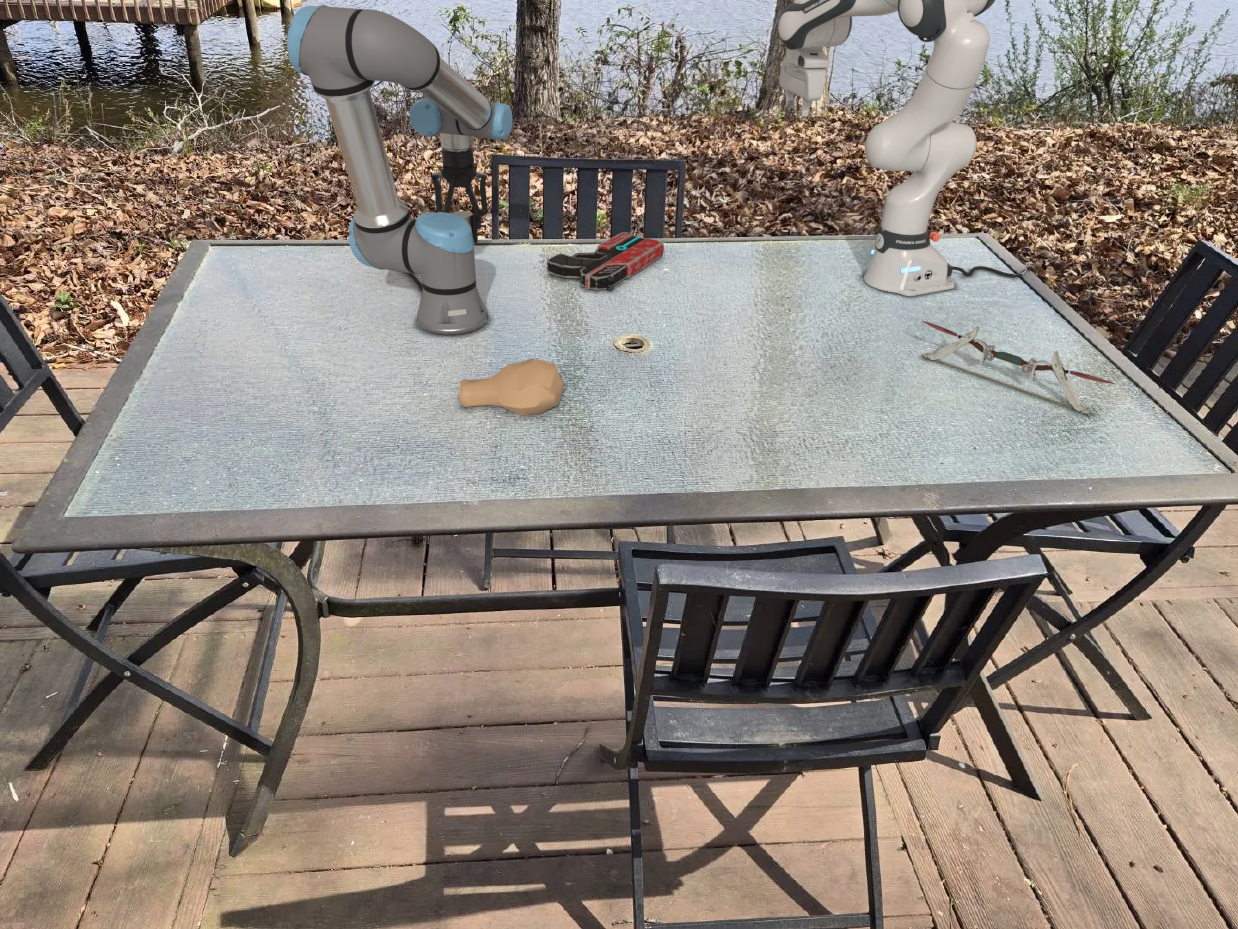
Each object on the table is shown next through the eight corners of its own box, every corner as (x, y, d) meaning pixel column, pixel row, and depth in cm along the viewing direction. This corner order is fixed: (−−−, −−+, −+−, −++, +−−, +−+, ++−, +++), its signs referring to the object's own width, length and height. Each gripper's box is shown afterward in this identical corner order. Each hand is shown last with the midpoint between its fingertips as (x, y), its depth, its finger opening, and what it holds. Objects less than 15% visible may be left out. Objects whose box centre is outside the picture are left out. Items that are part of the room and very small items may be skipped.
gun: (540, 260, 217) (606, 279, 209) (606, 224, 239) (668, 240, 231) (540, 277, 220) (606, 296, 212) (605, 240, 242) (667, 256, 234)
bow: (1102, 416, 168) (1120, 369, 163) (1099, 419, 167) (1116, 372, 162) (916, 351, 190) (927, 308, 184) (912, 354, 189) (923, 311, 183)
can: (466, 248, 222) (463, 218, 218) (450, 244, 224) (447, 214, 220) (479, 242, 226) (477, 213, 221) (463, 238, 228) (461, 209, 223)
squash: (565, 421, 162) (558, 383, 156) (459, 429, 164) (448, 392, 158) (568, 385, 170) (561, 347, 164) (467, 393, 172) (456, 356, 165)
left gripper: (495, 143, 215) (501, 236, 228) (420, 143, 214) (430, 236, 227) (494, 152, 209) (499, 246, 222) (416, 151, 208) (426, 246, 221)
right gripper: (777, 48, 233) (770, 103, 241) (808, 62, 217) (800, 120, 225) (799, 48, 235) (792, 103, 243) (832, 61, 218) (823, 120, 226)
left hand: (464, 241), depth 224 cm, fingers closed on can, 5 cm apart
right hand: (796, 111), depth 233 cm, fingers open, 8 cm apart
